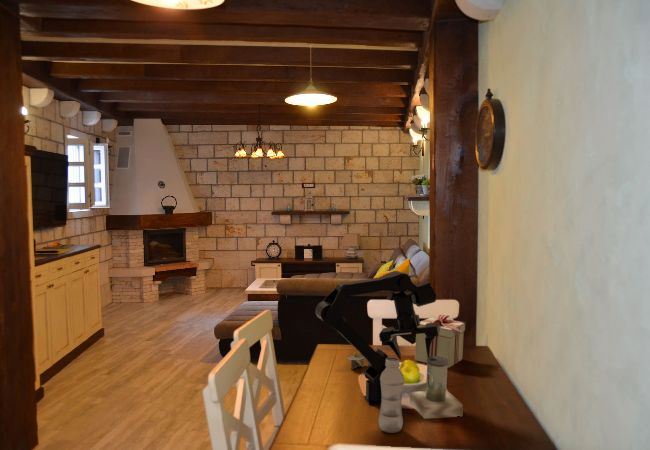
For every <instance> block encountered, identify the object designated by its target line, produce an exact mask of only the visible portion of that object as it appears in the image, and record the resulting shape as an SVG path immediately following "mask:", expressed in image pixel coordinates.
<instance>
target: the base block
mask: <svg viewBox="0 0 650 450" xmlns="http://www.w3.org/2000/svg"><path fill="white" fill-rule="evenodd" d="M409 395H410V396H409V397H410V398H409V404H410V403H411V404H412V405H413V406H414V407H415V408H414V407H413V406H412V405H411V404H410V405H411V406H412V407H413V408H414V409H415V411H417V412H418V414H419V415H420V416H421V417H422V419H424V420H427V419H440V418H442V419H444V418H454V417H455V418H458V417H457V416H460V417H463V414H464V412H463V411H464V404H463V403H462V402H461V401H460V400H458V399H457V398H456V397H455V396H454V395H453V394H452V393H450V392H449V391H448V390H447V389H446V400H445V401H442V402H435V401H430V400H428V399H427V398H426V390H424V391H423V390H422V391H410V393H409Z"/></svg>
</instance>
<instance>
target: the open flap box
mask: <svg viewBox="0 0 650 450" xmlns="http://www.w3.org/2000/svg"><path fill="white" fill-rule="evenodd" d="M347 360H349V361H350V365H351V366H350V371H353V370H355V369H357V368H358V367H362V368H363V367H364V366H365V358H364V356H363V355H362V354H361V353H360V352H359V351H357V350H356V351H355V352H353V355H350V356H349V357H347Z"/></svg>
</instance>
